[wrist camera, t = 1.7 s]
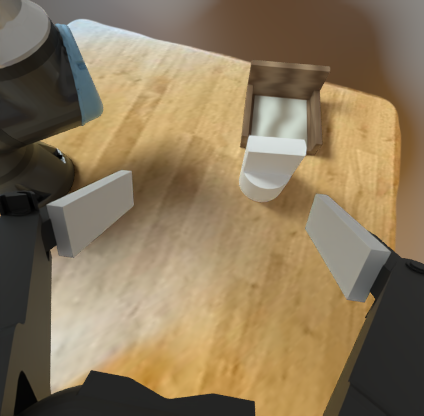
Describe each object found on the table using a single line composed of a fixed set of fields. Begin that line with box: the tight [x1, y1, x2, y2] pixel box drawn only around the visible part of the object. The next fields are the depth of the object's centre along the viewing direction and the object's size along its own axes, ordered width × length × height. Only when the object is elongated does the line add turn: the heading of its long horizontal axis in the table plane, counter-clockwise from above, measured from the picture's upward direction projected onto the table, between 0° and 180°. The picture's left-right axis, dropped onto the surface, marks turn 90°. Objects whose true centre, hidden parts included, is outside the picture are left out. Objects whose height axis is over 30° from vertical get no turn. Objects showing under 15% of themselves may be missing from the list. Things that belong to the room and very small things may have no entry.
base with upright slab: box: [239, 135, 307, 202], centre depth 38 cm, size 9×9×12 cm
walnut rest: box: [240, 60, 330, 155], centre depth 45 cm, size 16×16×8 cm
